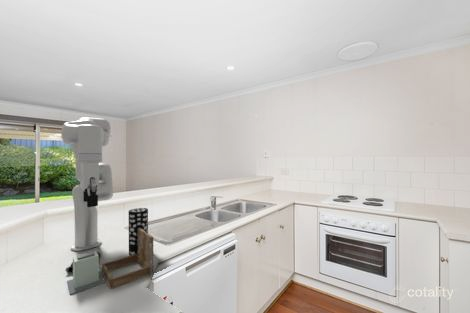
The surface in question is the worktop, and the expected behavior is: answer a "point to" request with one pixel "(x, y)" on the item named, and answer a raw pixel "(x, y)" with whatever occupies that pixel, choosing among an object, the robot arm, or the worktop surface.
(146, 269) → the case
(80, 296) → the worktop surface
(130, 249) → the white-spotted black cylinder
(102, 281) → the mat
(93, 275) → the module
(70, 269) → the dark blue pouch
